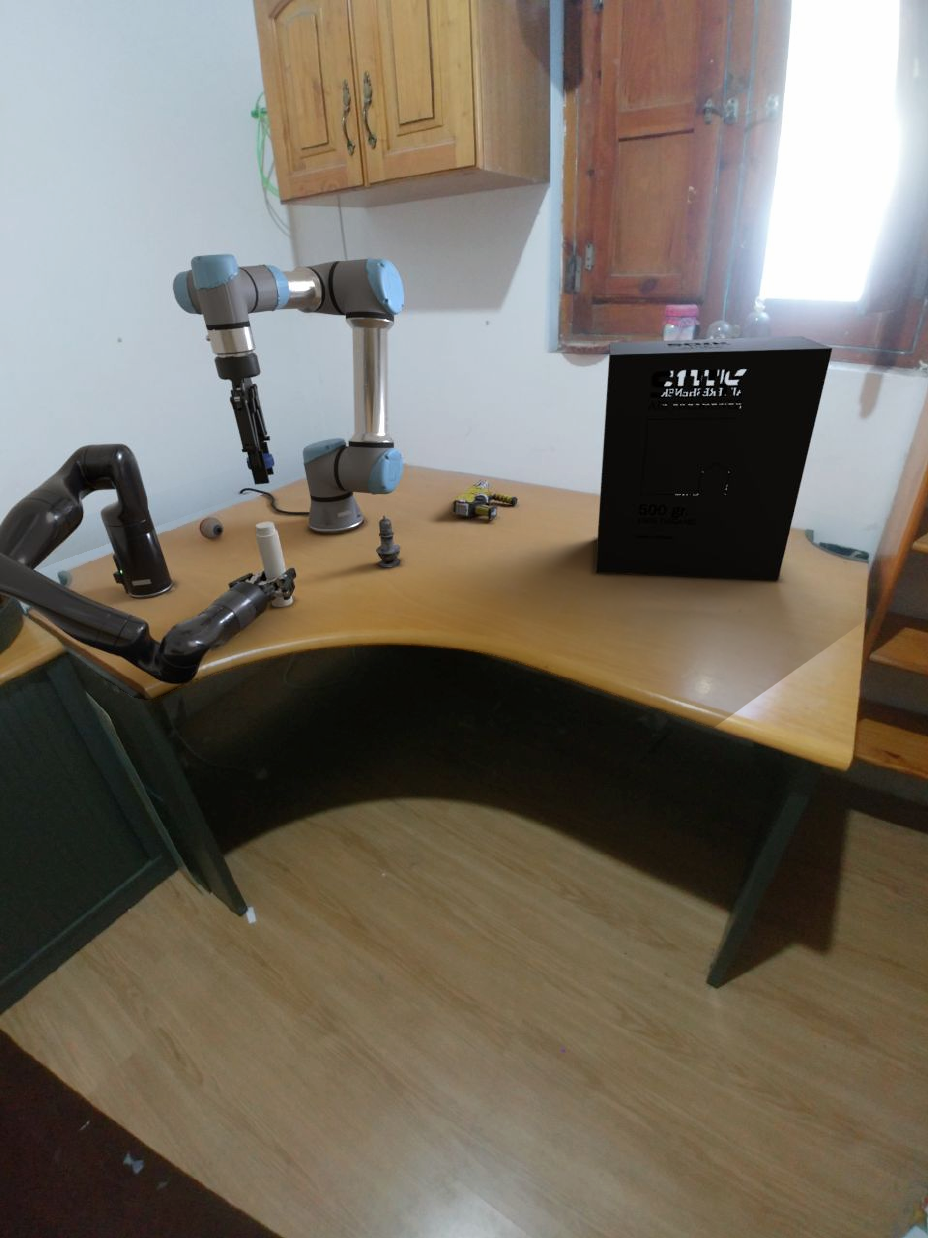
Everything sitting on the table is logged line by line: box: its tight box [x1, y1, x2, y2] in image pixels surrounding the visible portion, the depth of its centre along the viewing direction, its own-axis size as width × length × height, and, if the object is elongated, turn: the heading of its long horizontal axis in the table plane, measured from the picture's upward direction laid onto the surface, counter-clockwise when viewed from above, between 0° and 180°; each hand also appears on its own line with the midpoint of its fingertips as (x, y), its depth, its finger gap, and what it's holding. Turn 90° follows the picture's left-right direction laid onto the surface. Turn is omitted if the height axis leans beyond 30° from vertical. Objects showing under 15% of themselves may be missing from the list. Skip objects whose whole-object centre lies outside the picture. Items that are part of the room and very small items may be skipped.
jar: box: [255, 521, 294, 608], centre depth 126 cm, size 4×4×18 cm
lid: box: [245, 452, 275, 471], centre depth 119 cm, size 5×5×2 cm
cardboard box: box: [595, 335, 833, 581], centre depth 128 cm, size 38×20×45 cm, turn 78°
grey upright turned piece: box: [375, 515, 402, 568], centre depth 142 cm, size 6×6×12 cm
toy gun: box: [452, 479, 518, 521], centre depth 175 cm, size 5×24×15 cm
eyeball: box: [198, 516, 224, 541], centre depth 163 cm, size 6×6×6 cm
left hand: (283, 570), depth 129 cm, fingers closed on jar, 4 cm apart
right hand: (264, 478), depth 121 cm, fingers closed on lid, 5 cm apart
